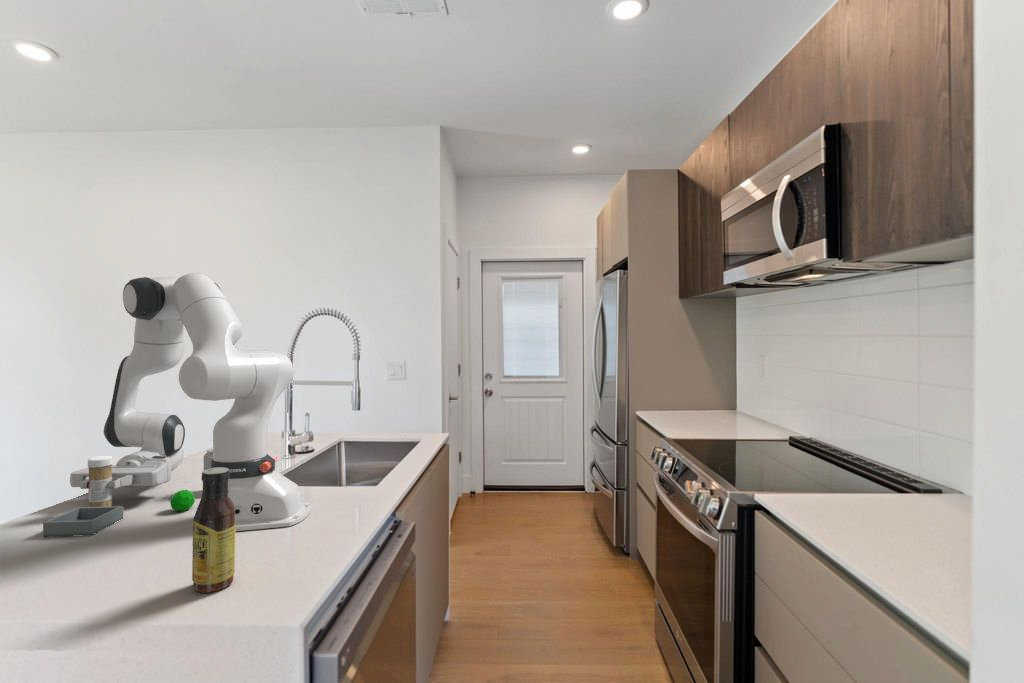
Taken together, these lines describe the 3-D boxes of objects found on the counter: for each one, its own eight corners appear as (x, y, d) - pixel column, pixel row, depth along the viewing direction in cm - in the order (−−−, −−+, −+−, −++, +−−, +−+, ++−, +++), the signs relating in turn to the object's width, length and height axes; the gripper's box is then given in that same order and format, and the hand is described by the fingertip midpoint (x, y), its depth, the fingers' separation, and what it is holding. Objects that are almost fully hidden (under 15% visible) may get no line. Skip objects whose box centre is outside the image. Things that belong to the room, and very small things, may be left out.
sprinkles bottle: (93, 511, 120) (93, 455, 120) (116, 509, 122) (116, 454, 121) (83, 517, 116) (83, 460, 116) (107, 516, 117) (107, 458, 117)
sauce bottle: (188, 585, 85) (188, 469, 85) (228, 573, 89) (229, 462, 89) (197, 600, 80) (198, 476, 80) (240, 586, 85) (240, 469, 85)
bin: (123, 519, 115) (123, 506, 115) (92, 535, 106) (92, 521, 106) (78, 520, 114) (78, 507, 114) (43, 536, 105) (43, 522, 105)
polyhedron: (166, 514, 118) (166, 494, 118) (176, 507, 123) (176, 488, 123) (189, 513, 119) (189, 493, 119) (198, 506, 124) (198, 487, 124)
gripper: (94, 458, 131) (50, 472, 117) (176, 457, 132) (143, 471, 119) (94, 482, 131) (50, 499, 117) (176, 480, 133) (143, 497, 119)
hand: (97, 485), depth 118 cm, fingers open, 5 cm apart
